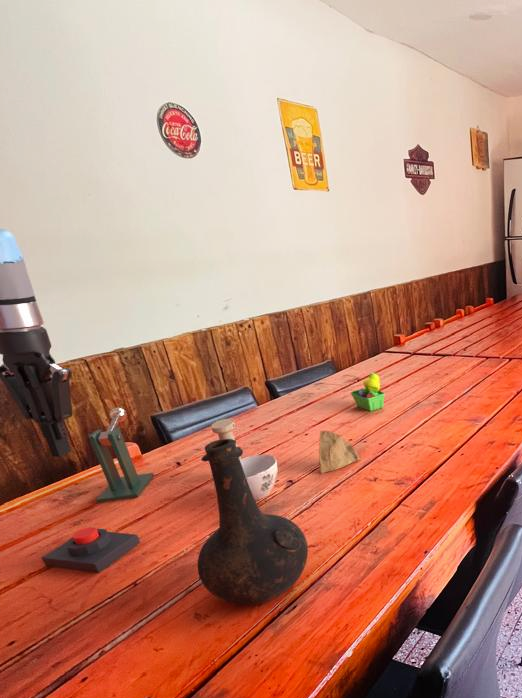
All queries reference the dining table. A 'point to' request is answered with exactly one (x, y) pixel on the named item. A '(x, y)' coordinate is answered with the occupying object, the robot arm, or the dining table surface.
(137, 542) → the control block
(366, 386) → the fruit basket
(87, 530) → the button
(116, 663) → the dining table surface
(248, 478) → the teacup
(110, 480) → the bracket
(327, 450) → the rock
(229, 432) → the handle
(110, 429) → the lever
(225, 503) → the glass bottle
